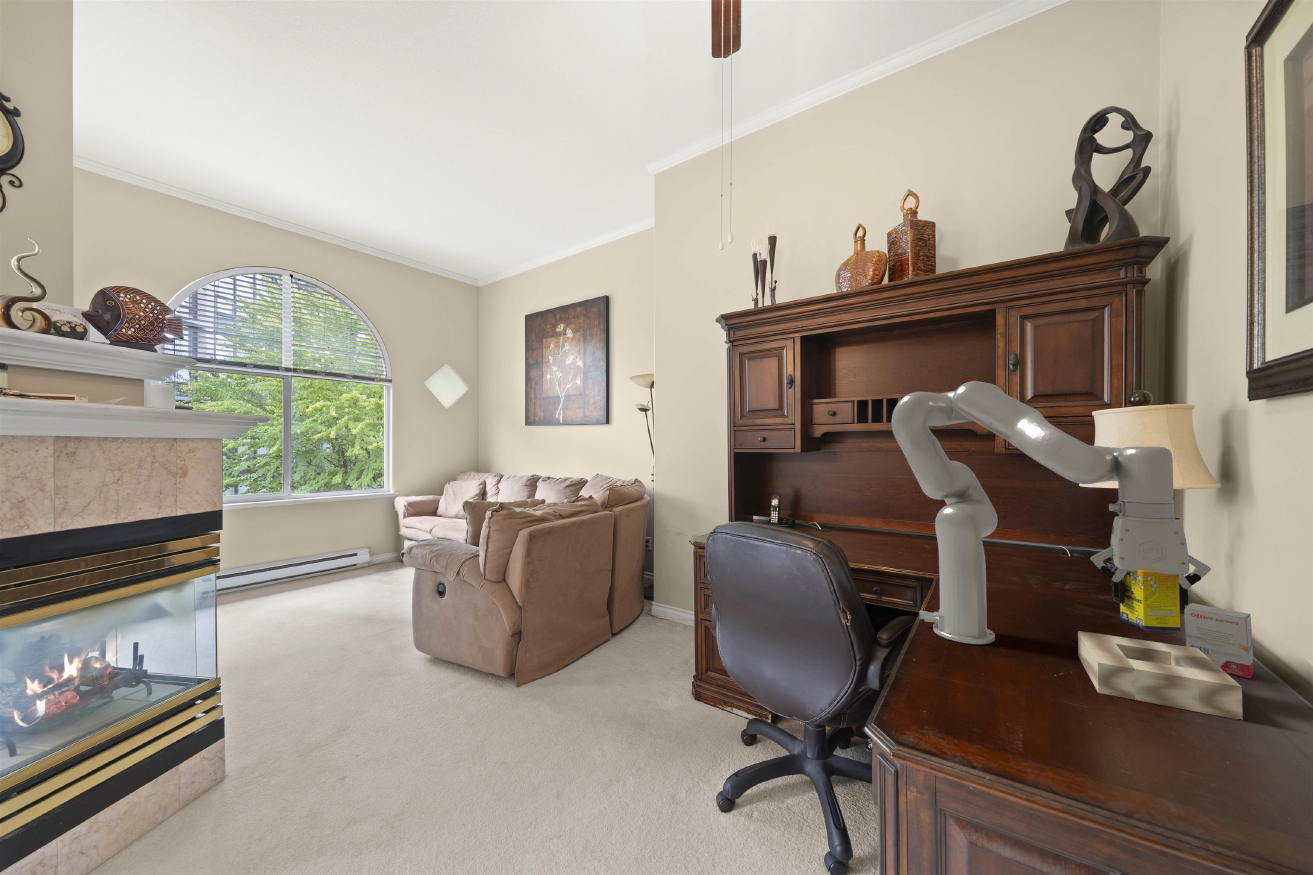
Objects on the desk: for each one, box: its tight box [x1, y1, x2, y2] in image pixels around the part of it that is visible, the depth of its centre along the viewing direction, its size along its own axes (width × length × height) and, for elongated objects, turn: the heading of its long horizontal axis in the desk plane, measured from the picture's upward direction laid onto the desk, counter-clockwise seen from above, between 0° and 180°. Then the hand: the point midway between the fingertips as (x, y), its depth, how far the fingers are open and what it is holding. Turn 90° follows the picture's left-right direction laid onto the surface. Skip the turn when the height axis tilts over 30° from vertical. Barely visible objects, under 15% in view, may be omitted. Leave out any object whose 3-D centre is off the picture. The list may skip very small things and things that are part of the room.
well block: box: [1077, 630, 1243, 721], centre depth 94 cm, size 18×18×6 cm
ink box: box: [1183, 602, 1254, 679], centre depth 101 cm, size 9×5×12 cm, turn 33°
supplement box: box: [1119, 570, 1181, 632], centre depth 94 cm, size 6×6×11 cm
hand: (1148, 604), depth 94 cm, fingers closed on supplement box, 7 cm apart
